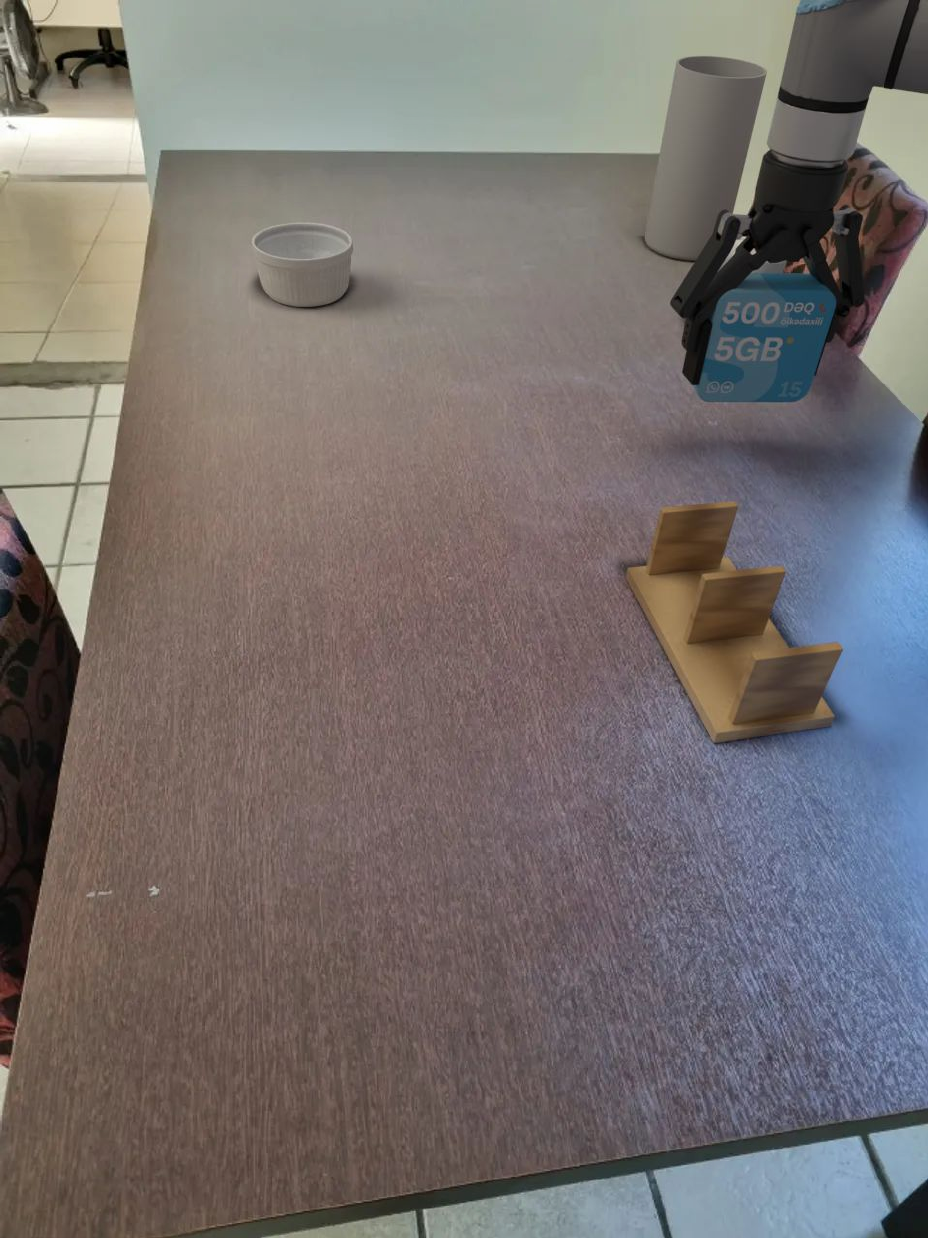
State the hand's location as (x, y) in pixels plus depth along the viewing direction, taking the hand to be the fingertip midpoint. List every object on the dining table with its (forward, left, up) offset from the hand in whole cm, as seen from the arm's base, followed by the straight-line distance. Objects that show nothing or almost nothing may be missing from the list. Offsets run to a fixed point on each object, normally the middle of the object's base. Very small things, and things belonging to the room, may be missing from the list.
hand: (748, 374), depth 98 cm
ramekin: (+42, -45, -9) cm, 63 cm away
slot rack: (+14, +30, -9) cm, 34 cm away
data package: (0, 0, -2) cm, 2 cm away
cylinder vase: (-18, -56, -9) cm, 60 cm away
